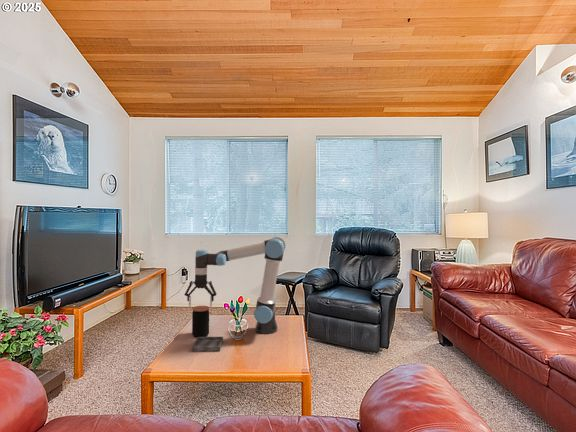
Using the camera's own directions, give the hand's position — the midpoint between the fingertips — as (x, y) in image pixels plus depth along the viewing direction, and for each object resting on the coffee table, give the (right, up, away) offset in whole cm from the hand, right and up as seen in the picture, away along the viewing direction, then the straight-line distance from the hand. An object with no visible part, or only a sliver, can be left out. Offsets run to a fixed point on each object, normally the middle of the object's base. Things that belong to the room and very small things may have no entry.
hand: (200, 306), depth 219 cm
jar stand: (+9, -19, -17) cm, 27 cm away
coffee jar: (0, -19, 0) cm, 19 cm away
